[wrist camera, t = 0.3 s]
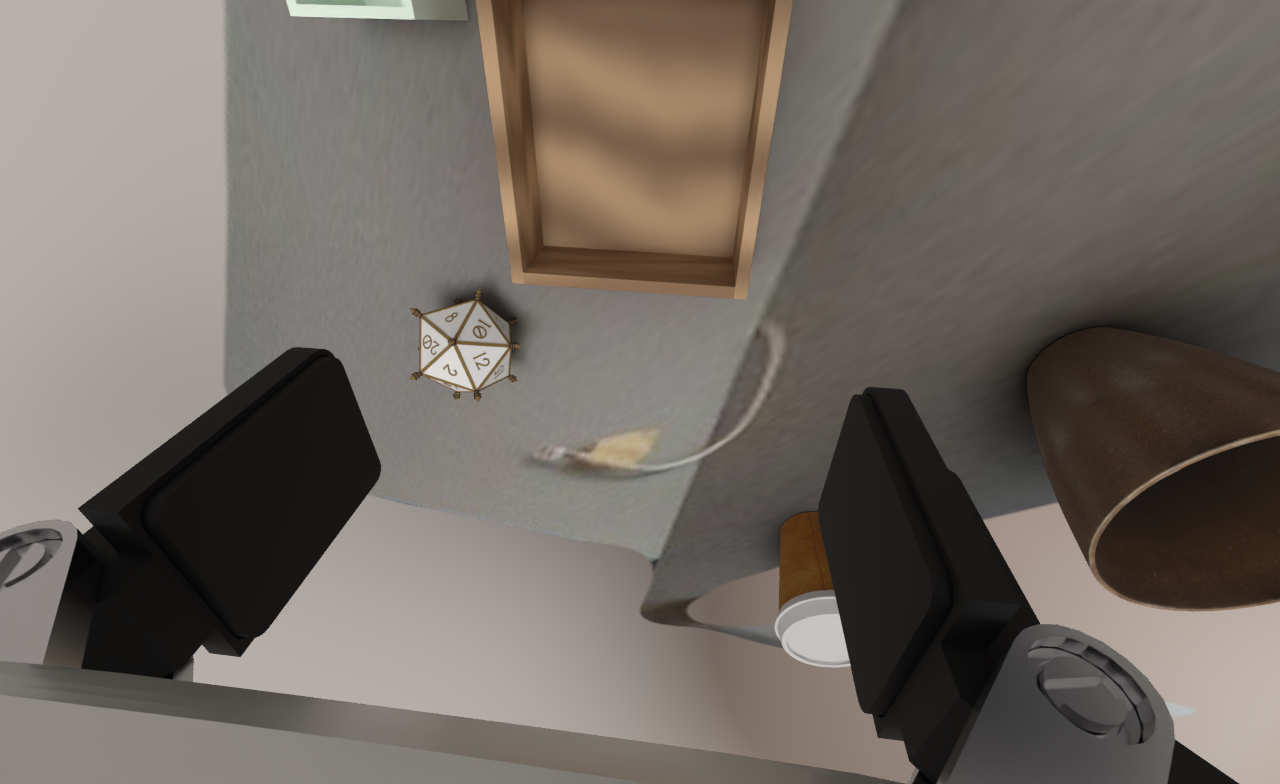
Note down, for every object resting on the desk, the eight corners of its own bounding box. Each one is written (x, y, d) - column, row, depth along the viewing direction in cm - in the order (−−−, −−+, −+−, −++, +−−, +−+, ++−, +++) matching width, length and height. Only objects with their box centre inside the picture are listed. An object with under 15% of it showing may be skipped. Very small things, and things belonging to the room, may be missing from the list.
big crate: (510, -27, 30) (470, -38, 25) (783, -22, 28) (798, -31, 24) (537, 251, 39) (512, 283, 35) (741, 264, 38) (746, 299, 33)
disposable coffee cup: (835, 567, 57) (861, 678, 47) (752, 549, 57) (761, 657, 47) (875, 512, 51) (913, 625, 42) (783, 491, 51) (800, 600, 41)
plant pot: (1248, 347, 38) (1531, 516, 25) (1055, 467, 46) (1191, 641, 33) (1115, 238, 34) (1360, 367, 21) (933, 388, 42) (1030, 546, 29)
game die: (484, 315, 48) (383, 368, 42) (484, 248, 40) (363, 302, 35) (547, 381, 46) (449, 446, 41) (558, 323, 39) (442, 393, 33)
